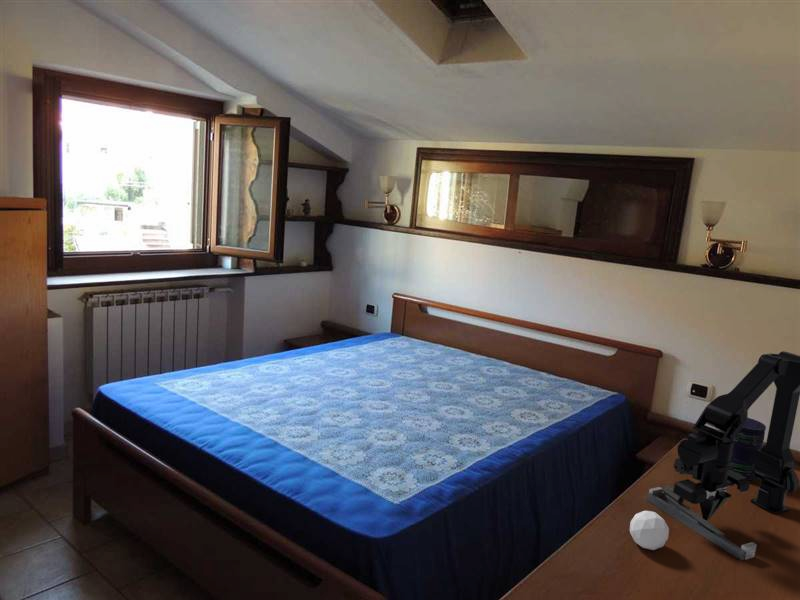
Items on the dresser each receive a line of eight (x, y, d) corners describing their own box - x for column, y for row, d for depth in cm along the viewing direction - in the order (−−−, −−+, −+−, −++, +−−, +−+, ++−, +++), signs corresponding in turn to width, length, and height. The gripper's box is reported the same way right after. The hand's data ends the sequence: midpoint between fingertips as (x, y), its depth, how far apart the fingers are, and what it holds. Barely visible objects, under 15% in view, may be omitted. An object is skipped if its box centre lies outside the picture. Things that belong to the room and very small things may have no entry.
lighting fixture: (725, 542, 140) (729, 525, 139) (715, 543, 139) (719, 526, 138) (668, 499, 158) (671, 484, 157) (659, 500, 157) (662, 484, 156)
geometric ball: (644, 562, 134) (637, 542, 129) (627, 530, 140) (620, 511, 136) (678, 549, 133) (672, 529, 129) (659, 518, 140) (653, 497, 135)
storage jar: (710, 470, 176) (720, 420, 174) (724, 461, 183) (733, 413, 180) (748, 484, 169) (759, 432, 166) (761, 475, 176) (771, 425, 173)
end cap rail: (657, 498, 157) (659, 486, 157) (754, 557, 134) (756, 544, 134) (646, 500, 155) (648, 489, 155) (741, 560, 133) (744, 547, 132)
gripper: (713, 437, 154) (703, 495, 157) (658, 448, 146) (649, 509, 149) (756, 457, 144) (744, 518, 147) (699, 469, 136) (688, 534, 139)
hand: (705, 519), depth 146 cm, fingers closed
